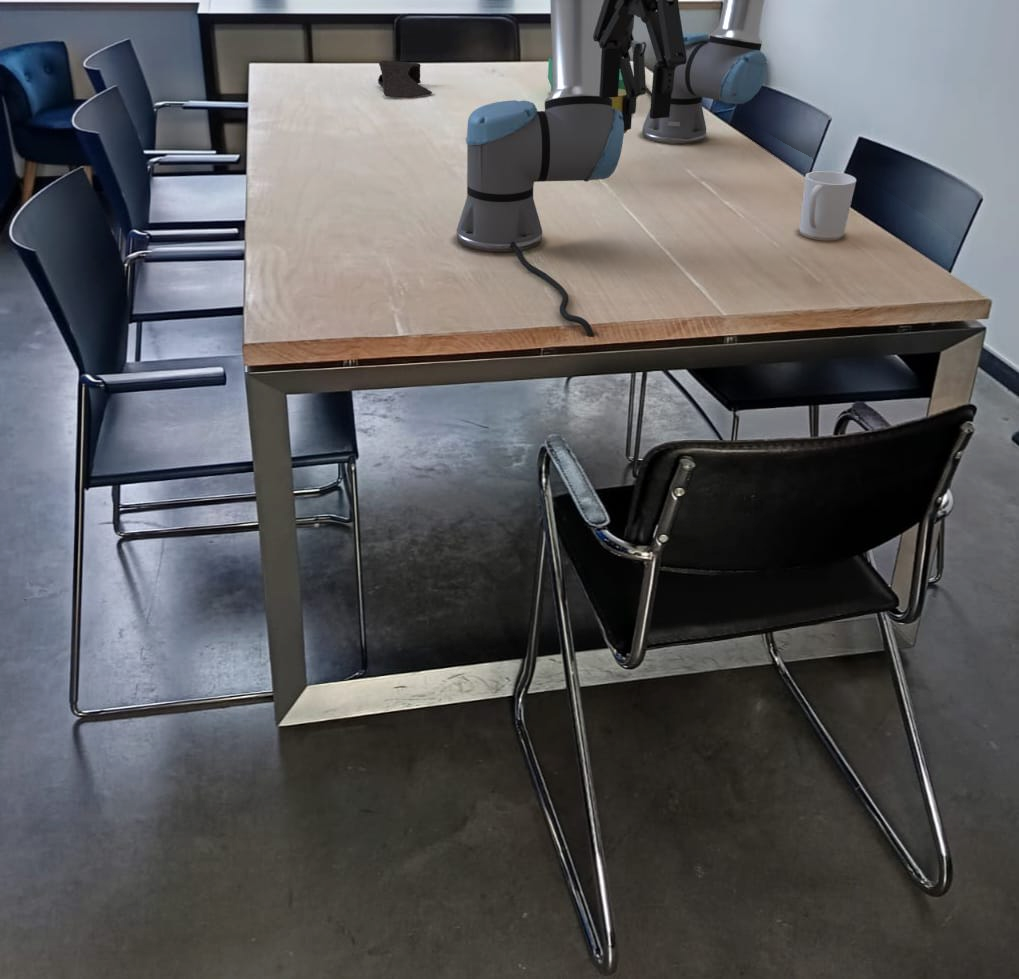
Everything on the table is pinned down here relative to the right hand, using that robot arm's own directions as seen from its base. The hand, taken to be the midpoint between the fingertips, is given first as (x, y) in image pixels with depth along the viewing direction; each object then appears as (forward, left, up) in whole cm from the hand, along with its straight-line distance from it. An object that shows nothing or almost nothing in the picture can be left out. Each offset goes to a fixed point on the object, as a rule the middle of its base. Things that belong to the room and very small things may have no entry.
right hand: (608, 126), depth 226 cm
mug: (+33, +39, -10) cm, 52 cm away
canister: (0, 0, -1) cm, 1 cm away
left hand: (+73, +1, +20) cm, 76 cm away
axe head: (-77, -55, -10) cm, 95 cm away
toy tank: (-75, -6, -10) cm, 76 cm away
